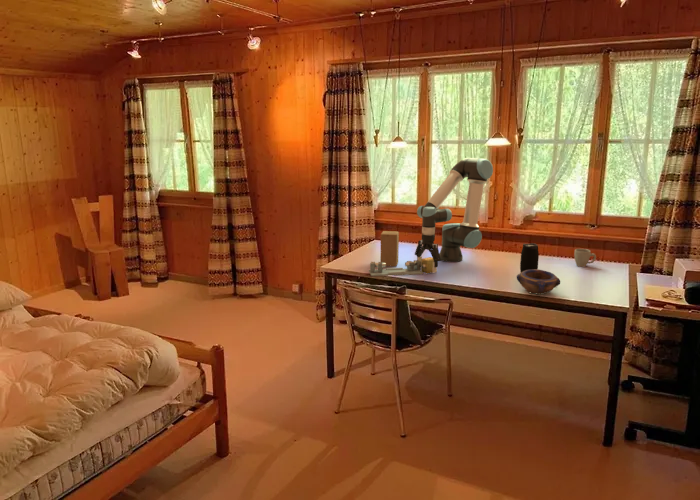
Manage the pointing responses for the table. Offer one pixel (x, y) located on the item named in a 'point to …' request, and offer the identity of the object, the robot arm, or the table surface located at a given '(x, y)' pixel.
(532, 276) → the bowl
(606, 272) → the table surface
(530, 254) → the portable speaker
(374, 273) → the rig
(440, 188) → the robot arm
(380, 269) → the grey bracket
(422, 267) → the coupling
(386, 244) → the wooden block
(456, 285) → the table surface
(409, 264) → the grey metal block
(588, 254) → the mug
